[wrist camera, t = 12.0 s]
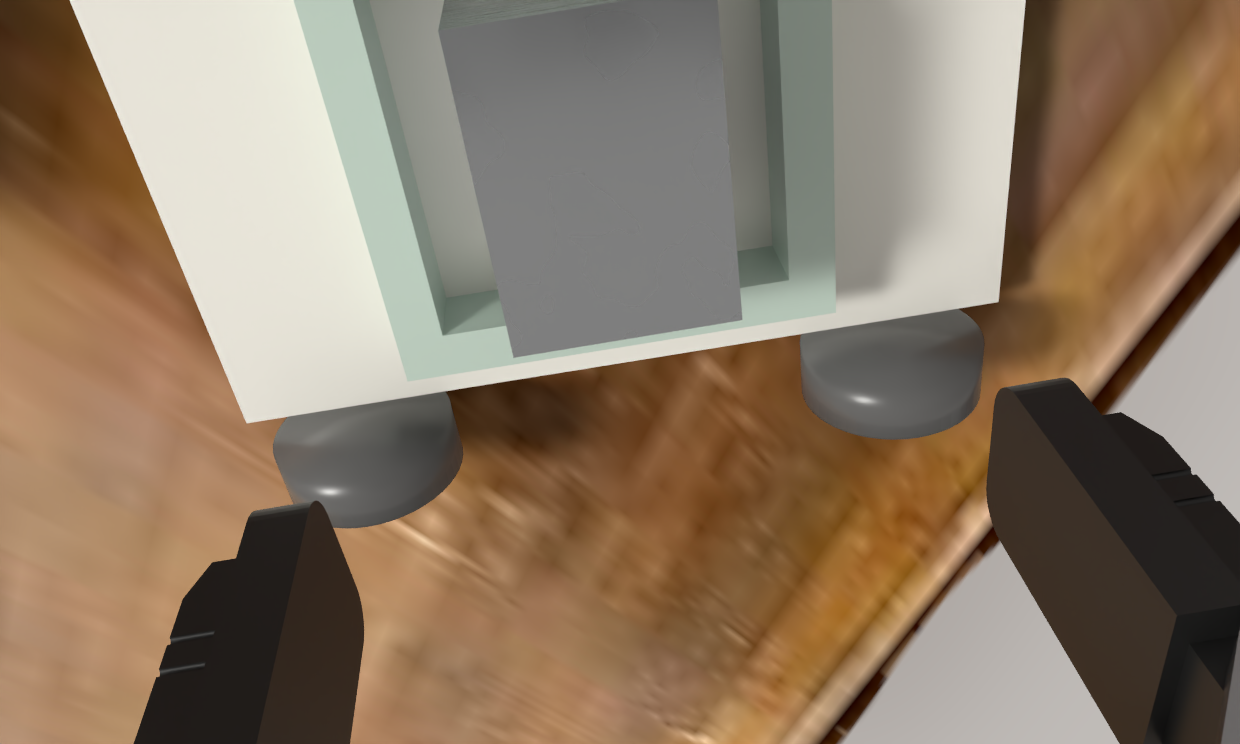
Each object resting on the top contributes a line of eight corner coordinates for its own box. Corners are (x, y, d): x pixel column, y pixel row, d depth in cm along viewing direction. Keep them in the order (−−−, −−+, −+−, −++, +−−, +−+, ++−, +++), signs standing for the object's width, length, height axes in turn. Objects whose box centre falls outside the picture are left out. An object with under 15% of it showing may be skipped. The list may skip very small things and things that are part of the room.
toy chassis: (-24, -302, 21) (-155, -303, 17) (1035, -468, 21) (1165, -509, 17) (274, 435, 32) (239, 547, 27) (974, 322, 32) (1046, 416, 28)
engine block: (452, -41, 23) (438, 30, 18) (670, -77, 23) (716, -15, 18) (512, 236, 27) (513, 358, 22) (698, 205, 27) (742, 320, 22)
